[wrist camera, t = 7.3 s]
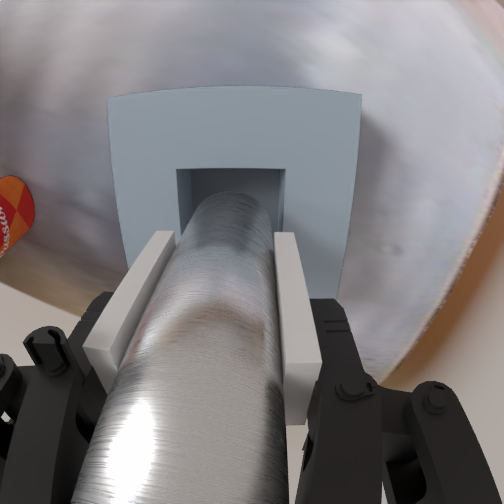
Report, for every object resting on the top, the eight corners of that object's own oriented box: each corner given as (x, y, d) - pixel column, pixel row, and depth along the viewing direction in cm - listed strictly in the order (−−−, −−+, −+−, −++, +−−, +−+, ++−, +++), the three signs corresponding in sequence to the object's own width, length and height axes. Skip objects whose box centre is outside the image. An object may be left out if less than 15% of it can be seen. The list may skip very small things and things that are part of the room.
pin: (194, 263, 16) (112, 549, 4) (188, 191, 14) (17, 509, 2) (269, 265, 16) (279, 572, 4) (272, 191, 14) (310, 573, 2)
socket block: (156, 279, 24) (139, 315, 20) (137, 96, 17) (107, 98, 13) (320, 283, 23) (331, 320, 20) (339, 95, 17) (362, 94, 13)
